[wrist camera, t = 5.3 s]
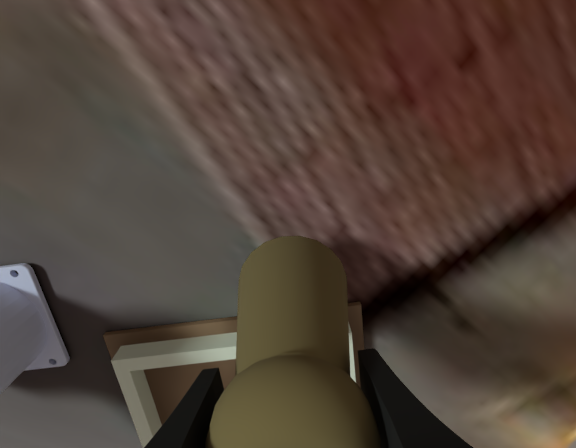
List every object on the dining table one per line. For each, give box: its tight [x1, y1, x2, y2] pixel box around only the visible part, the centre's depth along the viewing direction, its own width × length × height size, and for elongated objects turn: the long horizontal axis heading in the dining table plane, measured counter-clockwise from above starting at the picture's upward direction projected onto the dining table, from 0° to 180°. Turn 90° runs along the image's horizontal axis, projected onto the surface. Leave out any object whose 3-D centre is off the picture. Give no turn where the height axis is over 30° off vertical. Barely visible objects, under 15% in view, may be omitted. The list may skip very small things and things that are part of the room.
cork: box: [205, 236, 381, 448], centre depth 14 cm, size 6×6×11 cm
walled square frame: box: [111, 322, 356, 448], centre depth 26 cm, size 16×16×2 cm
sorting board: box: [103, 302, 364, 425], centre depth 27 cm, size 18×18×1 cm
